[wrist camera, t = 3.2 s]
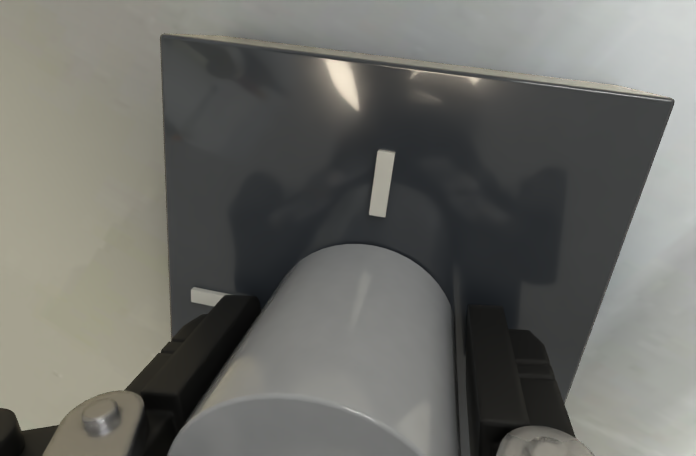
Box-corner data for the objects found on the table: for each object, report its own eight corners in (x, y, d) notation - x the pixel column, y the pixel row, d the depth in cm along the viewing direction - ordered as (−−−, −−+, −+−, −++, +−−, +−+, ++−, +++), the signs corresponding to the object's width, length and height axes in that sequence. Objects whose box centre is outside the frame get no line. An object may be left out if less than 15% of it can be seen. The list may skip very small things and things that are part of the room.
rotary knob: (268, 381, 12) (156, 599, 8) (277, 227, 11) (141, 378, 6) (436, 419, 12) (432, 679, 7) (474, 262, 10) (502, 462, 5)
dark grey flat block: (220, 35, 12) (153, 32, 10) (619, 85, 11) (682, 99, 8) (218, 393, 17) (171, 465, 14) (501, 458, 16) (514, 552, 13)
